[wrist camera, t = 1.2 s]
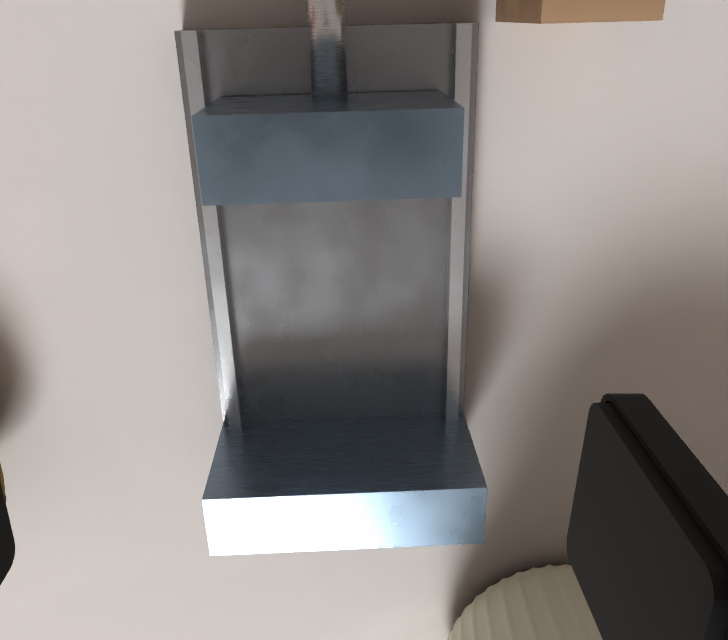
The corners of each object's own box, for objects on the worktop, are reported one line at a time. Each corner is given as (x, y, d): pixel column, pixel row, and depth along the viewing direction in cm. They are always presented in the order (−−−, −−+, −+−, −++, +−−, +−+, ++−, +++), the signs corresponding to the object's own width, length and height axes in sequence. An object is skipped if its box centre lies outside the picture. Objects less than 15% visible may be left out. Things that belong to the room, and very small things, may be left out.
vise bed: (182, 30, 28) (133, 35, 22) (471, 22, 29) (514, 24, 22) (233, 455, 37) (210, 555, 30) (457, 446, 37) (483, 543, 30)
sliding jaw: (195, -121, 25) (158, -157, 20) (445, -127, 25) (473, -164, 20) (226, 171, 29) (202, 205, 24) (439, 164, 29) (461, 197, 24)
